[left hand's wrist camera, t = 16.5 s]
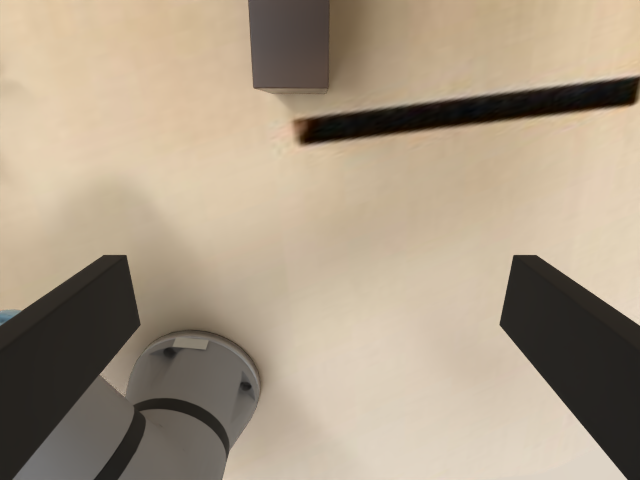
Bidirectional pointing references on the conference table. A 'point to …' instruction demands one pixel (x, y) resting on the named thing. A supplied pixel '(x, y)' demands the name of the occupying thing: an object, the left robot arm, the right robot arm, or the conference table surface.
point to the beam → (290, 45)
